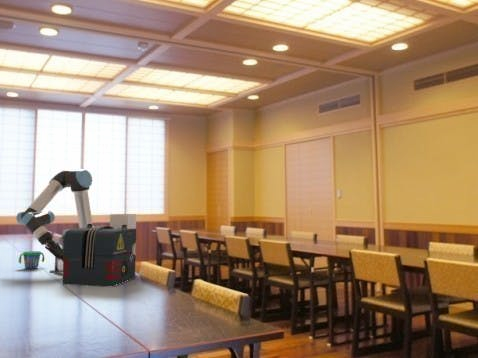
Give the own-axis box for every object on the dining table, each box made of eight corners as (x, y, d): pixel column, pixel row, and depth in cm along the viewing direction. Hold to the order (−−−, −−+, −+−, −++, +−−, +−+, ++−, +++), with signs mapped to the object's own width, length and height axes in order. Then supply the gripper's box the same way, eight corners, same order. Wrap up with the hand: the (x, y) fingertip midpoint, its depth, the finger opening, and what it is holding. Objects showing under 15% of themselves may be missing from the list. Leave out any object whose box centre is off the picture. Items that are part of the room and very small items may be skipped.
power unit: (112, 287, 237) (114, 226, 239) (62, 284, 243) (64, 225, 244) (135, 278, 265) (136, 224, 266) (89, 276, 270) (91, 223, 272)
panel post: (58, 270, 290) (59, 250, 291) (66, 271, 286) (67, 250, 286) (46, 272, 284) (47, 251, 284) (54, 273, 279) (55, 251, 280)
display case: (108, 274, 278) (110, 214, 280) (117, 271, 288) (118, 213, 290) (126, 275, 275) (128, 214, 277) (134, 272, 286) (136, 214, 288)
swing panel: (57, 269, 283) (57, 257, 283) (60, 268, 284) (60, 256, 285) (75, 272, 269) (76, 260, 269) (78, 272, 270) (79, 260, 271)
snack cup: (40, 266, 309) (41, 250, 309) (47, 268, 301) (47, 251, 302) (15, 268, 298) (16, 251, 298) (21, 270, 290) (22, 253, 291)
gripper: (44, 239, 280) (70, 269, 277) (32, 241, 267) (60, 272, 264) (53, 230, 279) (79, 260, 277) (42, 231, 267) (70, 262, 264)
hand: (70, 266), depth 271 cm, fingers closed
